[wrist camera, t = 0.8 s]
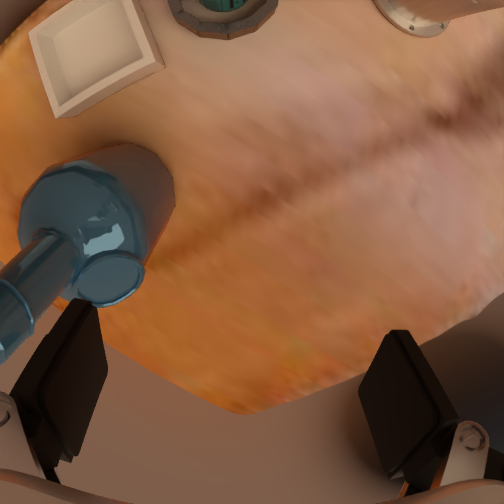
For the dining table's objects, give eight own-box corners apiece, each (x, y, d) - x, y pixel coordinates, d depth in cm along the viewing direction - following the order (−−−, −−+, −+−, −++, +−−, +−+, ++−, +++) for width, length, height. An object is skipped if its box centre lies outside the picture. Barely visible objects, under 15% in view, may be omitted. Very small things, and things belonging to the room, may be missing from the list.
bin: (133, -14, 26) (120, -27, 21) (165, 67, 31) (155, 61, 27) (48, 38, 27) (28, 32, 23) (75, 116, 32) (55, 118, 28)
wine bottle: (65, 200, 37) (-98, 336, 10) (119, 119, 33) (-97, 172, 6) (140, 262, 41) (48, 461, 14) (202, 189, 38) (131, 387, 10)
